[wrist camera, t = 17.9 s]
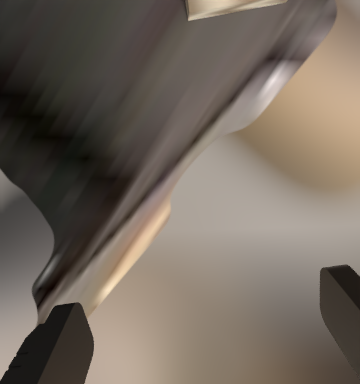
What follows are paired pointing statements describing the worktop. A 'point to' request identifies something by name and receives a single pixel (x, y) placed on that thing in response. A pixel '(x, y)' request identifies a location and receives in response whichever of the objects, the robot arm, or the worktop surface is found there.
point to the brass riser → (223, 7)
